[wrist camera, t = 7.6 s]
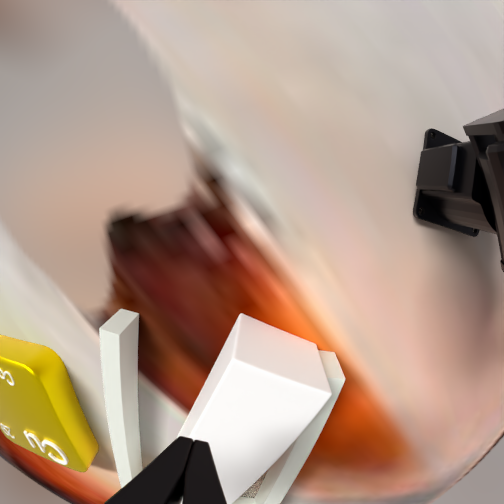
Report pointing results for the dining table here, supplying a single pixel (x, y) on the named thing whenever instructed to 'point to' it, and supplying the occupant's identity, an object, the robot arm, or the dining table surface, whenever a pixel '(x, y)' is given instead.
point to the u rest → (127, 415)
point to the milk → (256, 401)
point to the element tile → (42, 405)
